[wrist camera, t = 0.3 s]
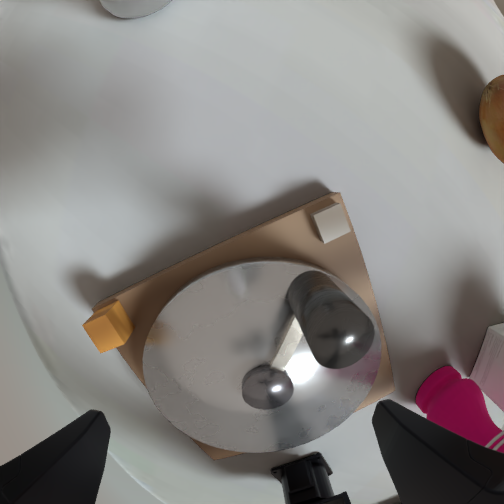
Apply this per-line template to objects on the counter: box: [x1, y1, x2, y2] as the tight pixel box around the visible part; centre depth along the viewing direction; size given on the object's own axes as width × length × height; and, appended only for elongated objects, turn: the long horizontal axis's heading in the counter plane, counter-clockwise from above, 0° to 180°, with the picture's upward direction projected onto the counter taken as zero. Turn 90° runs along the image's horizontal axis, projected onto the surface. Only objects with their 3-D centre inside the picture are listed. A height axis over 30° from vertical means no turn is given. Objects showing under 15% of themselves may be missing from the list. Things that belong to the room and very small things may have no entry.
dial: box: [143, 257, 381, 453], centre depth 17 cm, size 18×18×8 cm
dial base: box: [82, 192, 395, 460], centre depth 20 cm, size 20×20×4 cm
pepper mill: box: [416, 366, 504, 453], centre depth 15 cm, size 7×7×20 cm
